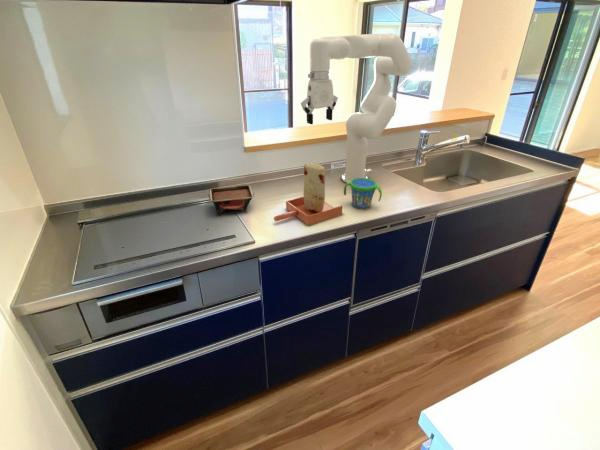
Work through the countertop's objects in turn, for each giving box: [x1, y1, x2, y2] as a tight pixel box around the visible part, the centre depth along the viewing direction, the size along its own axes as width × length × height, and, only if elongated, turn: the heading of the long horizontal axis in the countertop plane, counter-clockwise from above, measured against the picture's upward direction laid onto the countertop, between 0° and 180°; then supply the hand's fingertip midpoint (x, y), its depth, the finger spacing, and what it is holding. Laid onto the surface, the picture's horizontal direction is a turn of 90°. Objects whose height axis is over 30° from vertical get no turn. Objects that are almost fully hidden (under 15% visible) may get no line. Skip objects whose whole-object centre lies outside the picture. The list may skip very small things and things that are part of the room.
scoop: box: [273, 195, 343, 226], centre depth 136 cm, size 26×16×4 cm, turn 123°
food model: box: [303, 162, 326, 213], centre depth 135 cm, size 10×7×20 cm
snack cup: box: [343, 178, 383, 209], centre depth 142 cm, size 16×10×10 cm
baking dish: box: [208, 184, 255, 216], centre depth 142 cm, size 14×18×10 cm
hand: (319, 121), depth 139 cm, fingers open, 9 cm apart
